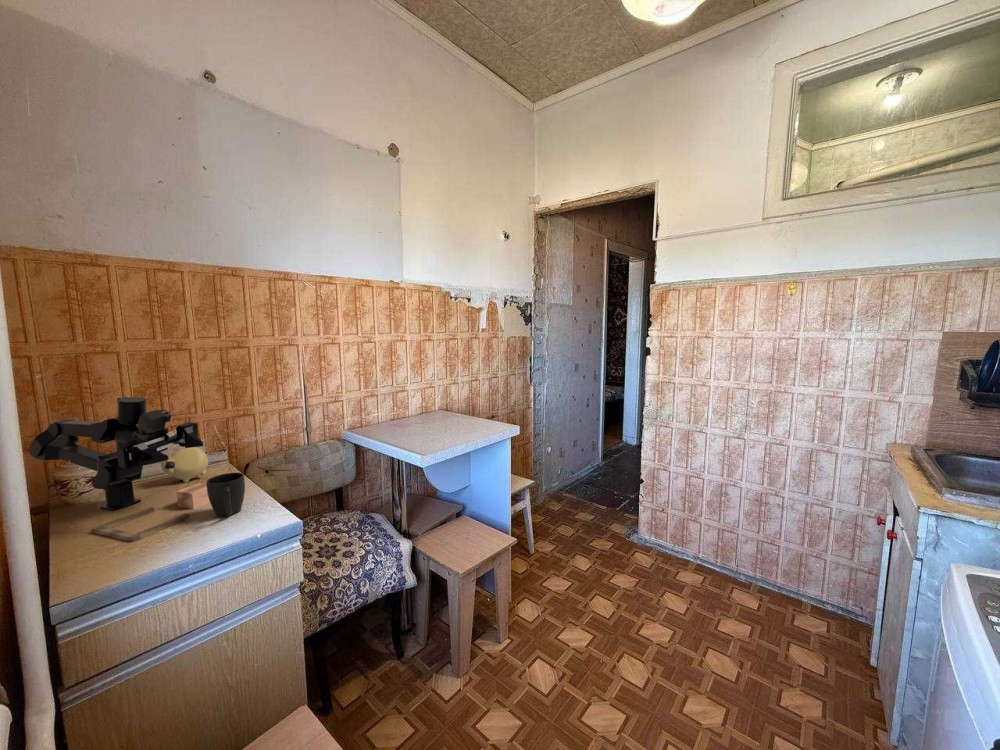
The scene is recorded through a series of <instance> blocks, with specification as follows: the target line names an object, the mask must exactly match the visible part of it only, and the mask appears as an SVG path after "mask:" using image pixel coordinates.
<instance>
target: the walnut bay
mask: <svg viewBox="0 0 1000 750" xmlns="http://www.w3.org/2000/svg"><path fill="white" fill-rule="evenodd" d="M155 511H156V510H155V507H154V506H149V507H147V508H144V509H141V510H139V511H136V512H133V513H131V514H127V515H125V516H122V517H119V518H117V519H115V520H112V521H108V522H106V523H103V524H100V525H98V526H95V527H92V528H91V533H93V534H97V535H101V536H106V537H110V538H114V539H119V540H122V541H127V542H131V543H134V542H136V541H140V540H141V539H144V538H146V537H147V536H150V535H153V534H155V533H157V532H160V531H162V530H165V529H167V528H170V527H171V526H174V525H176V524H179V523H181V522H183V521H185V520H188V519H190V518H191V516H190V513H188V512H187V513H183V514H180V515H178V516H175V517H173V518H171V519H167V520H166V521H163V522H161V523H158V524H156V525H154V526H151V527H149V528H146V529H144V530H141V531H139V532H137V533H135V532H131V531H130V532H129V531H125V530H120V529H117V528H116V529H115V528H114V527H117V526H119V525H121V524H125V523H128V522H130V521H133V520H135V519H138V518H141V517H143V516H145V515H148V514H151V513H153V512H155Z"/></svg>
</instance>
